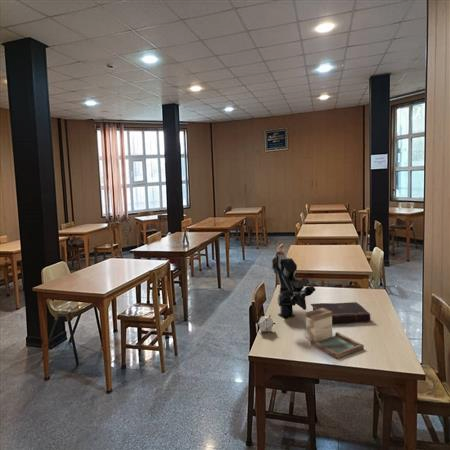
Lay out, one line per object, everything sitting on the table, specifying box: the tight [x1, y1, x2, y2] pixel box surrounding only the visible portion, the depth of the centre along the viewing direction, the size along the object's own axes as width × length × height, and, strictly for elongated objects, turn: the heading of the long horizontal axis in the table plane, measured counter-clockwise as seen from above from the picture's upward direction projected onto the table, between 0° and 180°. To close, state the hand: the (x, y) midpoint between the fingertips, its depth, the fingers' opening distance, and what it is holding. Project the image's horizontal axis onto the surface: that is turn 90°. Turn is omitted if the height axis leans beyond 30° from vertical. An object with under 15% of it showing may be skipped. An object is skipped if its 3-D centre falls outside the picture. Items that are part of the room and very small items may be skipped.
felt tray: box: [310, 331, 365, 360], centre depth 159 cm, size 15×15×2 cm
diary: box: [310, 301, 371, 325], centre depth 191 cm, size 19×25×5 cm
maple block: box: [305, 308, 333, 342], centre depth 168 cm, size 6×10×12 cm, turn 118°
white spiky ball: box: [257, 314, 276, 334], centre depth 176 cm, size 9×8×10 cm
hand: (305, 309), depth 175 cm, fingers closed
